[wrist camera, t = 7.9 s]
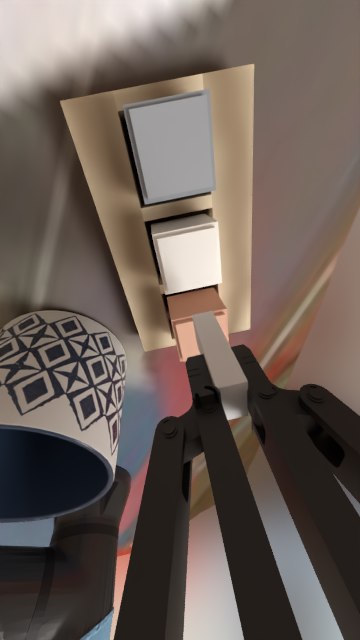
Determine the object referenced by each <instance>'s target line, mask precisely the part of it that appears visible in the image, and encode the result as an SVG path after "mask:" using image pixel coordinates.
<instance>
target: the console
mask: <svg viewBox="0 0 360 640" xmlns="http://www.w3.org/2000/svg"><path fill="white" fill-rule="evenodd" d="M204 89H210V100H211V116H212V132H213V148H214V163H215V179H216V190H215V191H210V192H205V193H200V194H195V195H190V196H185V197H180V198H176V199H171V200H166V201H161V202H156V203H151V204H146V205H141V201H140V197H139V193H138V188H137V184H136V180H135V176H134V171H133V167H132V163H131V158H130V154H129V150H128V146H127V141H126V137H125V133H124V129H123V124H122V121H126V119H125V114H124V110H123V105H127V104H132V103H137V102H142V101H147V100H153V99H158V98H163V97H168V96H173V95H179V94H184V93H189V92H194V91H199V90H204ZM60 103H61V106H62V109H63V112H64V115H65V118H66V121H67V124H68V127H69V130H70V133H71V135H72V138H73V141H74V144H75V147H76V150H77V153H78V156H79V159H80V162H81V165H82V168H83V171H84V174H85V177H86V180H87V183H88V185H89V188H90V191H91V194H92V197H93V200H94V203H95V206H96V209H97V212H98V215H99V218H100V221H101V224H102V227H103V230H104V233H105V235H106V238H107V241H108V244H109V247H110V250H111V253H112V256H113V259H114V262H115V265H116V268H117V271H118V274H119V277H120V280H121V283H122V285H123V288H124V291H125V294H126V297H127V300H128V303H129V306H130V309H131V312H132V315H133V318H134V321H135V324H136V327H137V330H138V333H139V335H140V338H141V341H142V344H143V347H144V350H145V352H146V351H150V350H155V349H160V348H164V347H169V346H174V345H176V340H175V336H174V332H173V327H172V325H170V324H169V320H168V316H167V312H166V307H165V303H164V299H163V295H162V294H164V293H165V291H164V286H163V282H162V277H161V274H158V273H157V269H156V265H155V261H154V256H153V252H152V248H151V244H150V239H149V235H148V231H147V227H146V222H145V221H149V220H154V219H159V218H164V217H169V216H174V215H179V214H184V213H189V212H194V211H199V210H204V209H205V214H206V215H208V216H210V217H211V218H213V219H215V220H217V221H218V227H219V243H220V259H221V274H222V283H220V284H215V285H212V287H214V289H215V291H216V292H217V294H218V295H219V297H220V298H221V300H222V302H223V303H224V305H225V306H226V308H227V319H228V334H229V333H234V332H239V331H243V330H248V329H250V297H251V232H252V168H253V103H254V64H250V65H245V66H240V67H235V68H229V69H224V70H219V71H214V72H208V73H203V74H198V75H193V76H188V77H182V78H177V79H172V80H167V81H161V82H156V83H151V84H146V85H141V86H135V87H130V88H125V89H120V90H114V91H109V92H104V93H99V94H93V95H88V96H83V97H78V98H73V99H67V100H62V101H60Z"/></svg>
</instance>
